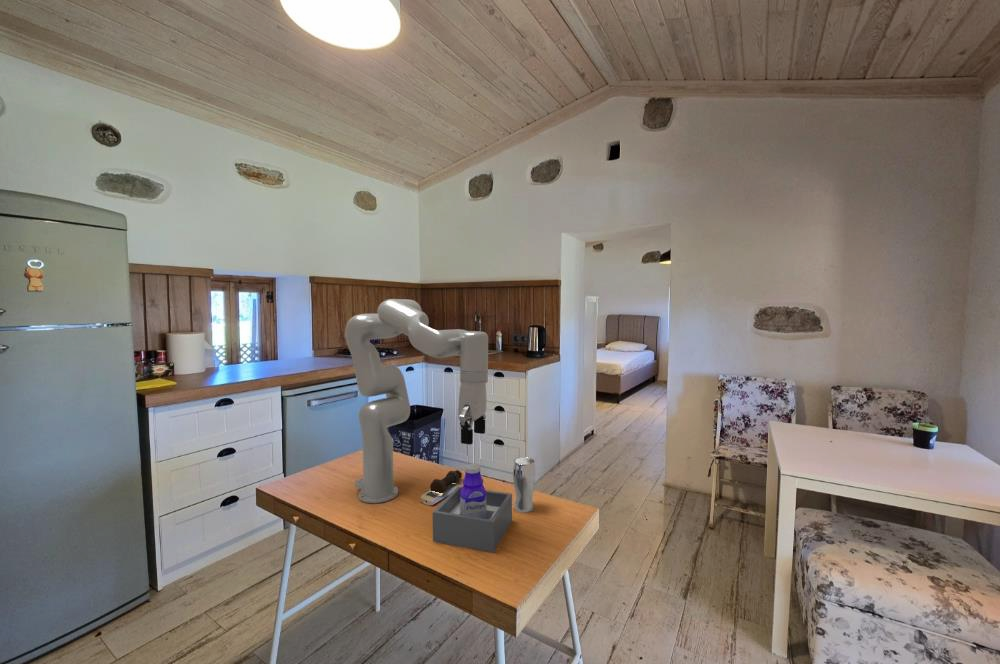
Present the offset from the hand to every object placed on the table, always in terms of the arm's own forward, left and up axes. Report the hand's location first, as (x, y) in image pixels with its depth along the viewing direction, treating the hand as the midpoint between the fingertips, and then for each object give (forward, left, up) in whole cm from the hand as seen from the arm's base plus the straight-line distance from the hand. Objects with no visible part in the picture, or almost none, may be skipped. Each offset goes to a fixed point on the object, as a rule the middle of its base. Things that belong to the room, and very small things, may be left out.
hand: (473, 438), depth 115 cm
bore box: (0, 0, -26) cm, 26 cm away
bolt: (-18, +24, -27) cm, 40 cm away
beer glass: (+10, +17, -26) cm, 33 cm away
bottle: (0, 0, -25) cm, 25 cm away
